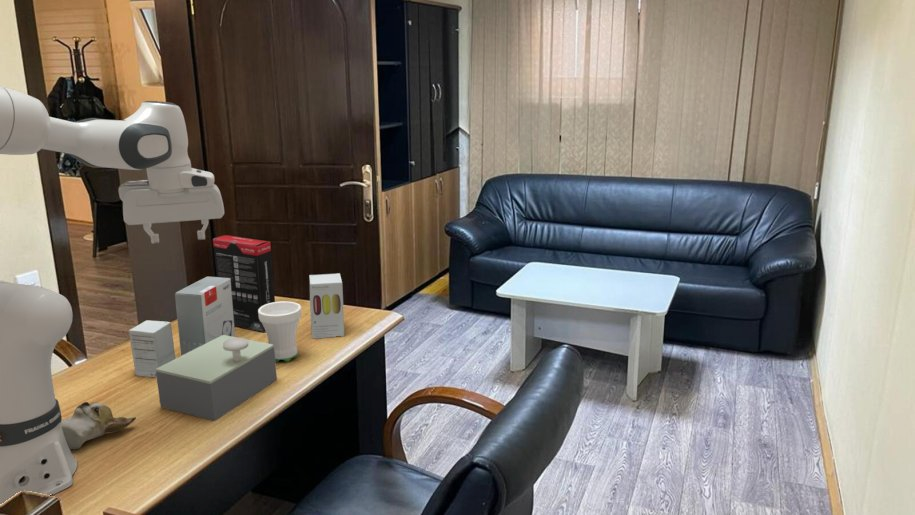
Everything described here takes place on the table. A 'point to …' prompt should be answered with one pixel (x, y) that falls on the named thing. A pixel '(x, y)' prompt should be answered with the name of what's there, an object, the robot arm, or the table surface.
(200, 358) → the lid flap
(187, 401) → the carton
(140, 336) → the supplement box
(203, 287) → the hard drive box
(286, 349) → the cup
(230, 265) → the graphics card box
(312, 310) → the supplement box
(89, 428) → the ceramic sculpture
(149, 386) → the table surface
